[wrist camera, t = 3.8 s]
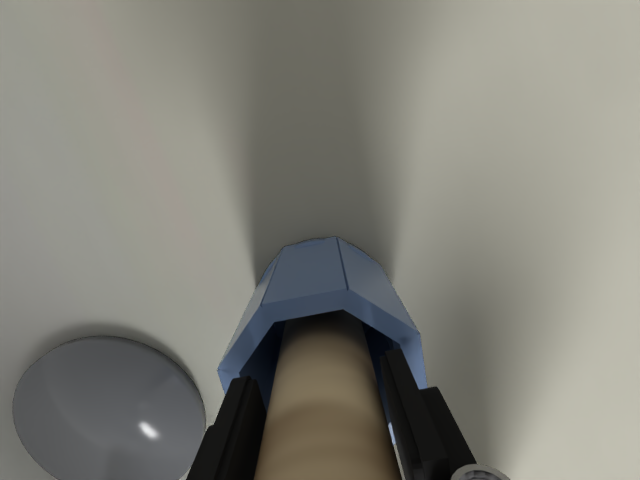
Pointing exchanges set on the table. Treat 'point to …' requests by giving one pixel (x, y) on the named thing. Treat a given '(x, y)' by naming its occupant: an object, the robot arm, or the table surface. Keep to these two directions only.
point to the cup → (321, 311)
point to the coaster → (109, 412)
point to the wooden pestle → (326, 406)
